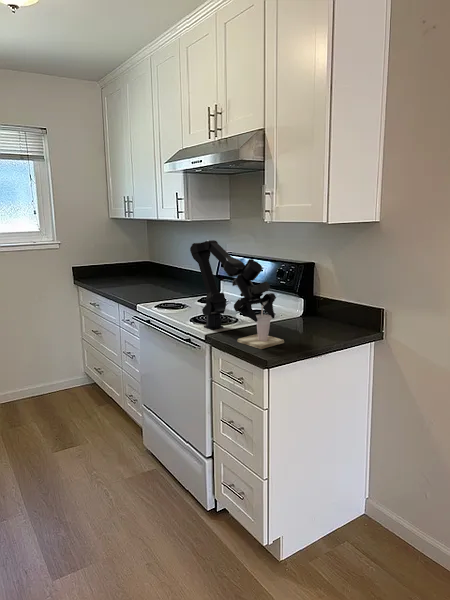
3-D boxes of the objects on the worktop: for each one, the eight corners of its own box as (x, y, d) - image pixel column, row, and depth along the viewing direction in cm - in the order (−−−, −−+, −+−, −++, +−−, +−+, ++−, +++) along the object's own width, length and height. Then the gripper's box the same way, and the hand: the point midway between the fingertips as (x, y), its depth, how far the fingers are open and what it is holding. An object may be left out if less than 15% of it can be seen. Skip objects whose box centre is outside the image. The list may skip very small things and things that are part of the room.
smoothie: (254, 337, 183) (254, 303, 180) (269, 337, 183) (270, 303, 180) (255, 342, 176) (256, 306, 174) (272, 342, 176) (272, 306, 174)
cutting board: (237, 341, 181) (237, 338, 180) (260, 336, 189) (260, 333, 189) (261, 349, 171) (261, 346, 171) (283, 342, 180) (283, 339, 179)
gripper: (238, 277, 171) (258, 310, 165) (273, 273, 183) (293, 304, 177) (225, 294, 179) (243, 327, 173) (259, 289, 191) (277, 320, 184)
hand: (265, 319), depth 177 cm, fingers open, 9 cm apart
